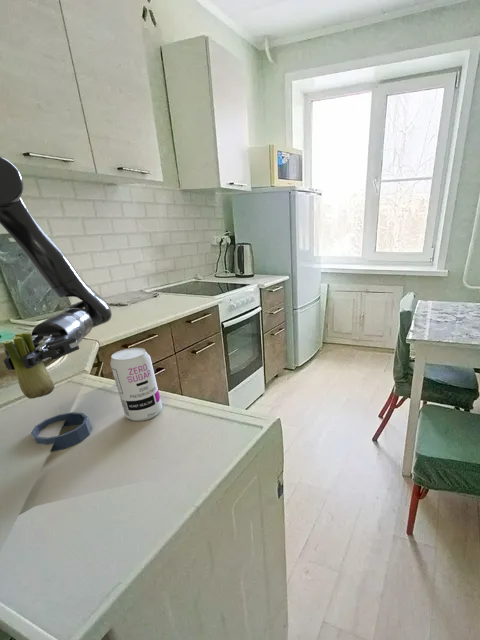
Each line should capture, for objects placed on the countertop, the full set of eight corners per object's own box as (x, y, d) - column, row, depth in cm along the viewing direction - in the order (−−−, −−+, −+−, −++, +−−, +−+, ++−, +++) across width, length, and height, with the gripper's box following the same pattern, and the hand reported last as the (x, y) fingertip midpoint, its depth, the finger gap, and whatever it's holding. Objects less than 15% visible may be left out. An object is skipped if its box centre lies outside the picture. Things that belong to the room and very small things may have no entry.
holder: (29, 455, 70) (24, 443, 68) (45, 429, 78) (40, 417, 77) (86, 444, 72) (81, 432, 71) (94, 420, 81) (91, 408, 80)
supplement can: (142, 402, 88) (127, 345, 81) (169, 406, 85) (156, 348, 78) (118, 419, 81) (99, 358, 74) (147, 424, 78) (130, 362, 71)
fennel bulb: (31, 404, 64) (4, 341, 59) (17, 398, 66) (-10, 338, 61) (62, 390, 69) (40, 331, 63) (48, 386, 71) (26, 328, 66)
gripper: (20, 319, 74) (-36, 347, 59) (89, 314, 76) (52, 340, 60) (33, 352, 78) (-17, 387, 62) (99, 347, 79) (66, 379, 64)
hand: (17, 364), depth 61 cm, fingers closed on fennel bulb, 2 cm apart
